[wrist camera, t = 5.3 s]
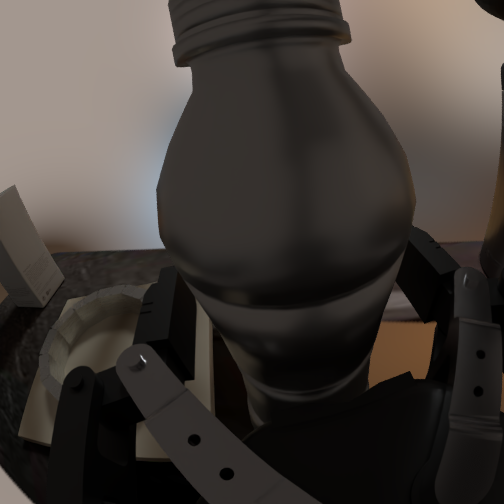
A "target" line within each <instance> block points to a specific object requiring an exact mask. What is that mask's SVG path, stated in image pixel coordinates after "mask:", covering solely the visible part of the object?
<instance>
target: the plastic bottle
mask: <svg viewBox="0 0 504 504" xmlns="http://www.w3.org/2000/svg"><path fill="white" fill-rule="evenodd" d="M168 7H169V11H170V17H171V21H172V27H173V32H174V36H175V42H176V44H175V45H174V46H173V48H172V51H173V57H174V62H175V66H176V67H191V70H192V85H193V92H192V94H191V96H190V98H189V100H188V102H187V105H186V107H185V109H184V111H183V113H182V116H181V118H180V120H179V122H178V125H177V127H176V129H175V132H174V134H173V136H172V139H171V141H170V143H169V146H168V149H167V153H166V156H165V160H164V164H163V167H162V170H161V174H160V178H159V181H158V185H157V189H156V192H157V211H158V225H159V226H158V227H159V234H160V238H161V240H162V242H163V244H164V246H165V248H166V250H167V252H168V254H169V256H170V258H171V260H172V262H173V264H174V266H175V268H176V269H177V271H178V272H179V273H180V275H181V276H182V278H183V280H184V281H185V283H186V284H187V286H188V287H189V289H190V290H191V292H192V293H193V295H194V296H195V298H196V299H197V301H198V302H199V304H200V305H201V307H202V308H203V310H204V311H205V313H206V314H207V315H208V317H209V318H210V320H211V321H212V323H213V324H214V326H215V327H216V328H217V330H218V331H219V333H220V334H221V336H222V338H223V340H224V342H225V343H226V345H227V347H228V349H229V351H230V353H231V355H232V356H233V358H234V360H235V361H236V363H237V365H238V367H239V369H240V371H241V373H242V375H243V379H244V383H245V386H246V390H247V394H248V408H249V413H250V418H251V422H252V425H253V427H254V429H256V428H258V427H259V426H261V425H263V424H265V423H267V422H269V421H271V420H272V419H271V413H270V412H271V411H277V410H282V409H287V408H291V407H296V406H300V405H305V404H323V403H344V402H348V401H350V400H352V399H354V398H356V397H357V396H359V395H361V394H362V393H364V392H365V391H367V390H369V382H368V374H369V365H370V356H371V353H372V350H373V345H374V342H375V340H376V337H377V333H378V330H379V326H380V323H381V319H382V316H383V312H384V309H385V307H386V304H387V302H388V299H389V296H390V294H391V291H392V288H393V286H394V283H395V280H396V277H397V274H398V271H399V268H400V265H401V262H402V259H403V256H404V253H405V250H406V246H407V243H408V240H409V237H410V233H411V228H412V222H413V216H414V211H415V205H416V197H415V190H414V185H413V181H412V176H411V172H410V168H409V164H408V160H407V156H406V154H405V152H404V150H403V148H402V146H401V145H400V143H399V141H398V139H397V138H396V136H395V134H394V132H393V131H392V129H391V127H390V126H389V124H388V122H387V121H386V119H385V118H384V116H383V115H382V113H381V112H380V111H379V109H378V108H377V107H376V106H375V105H374V103H373V102H372V101H371V99H370V98H369V97H368V96H367V95H366V93H365V92H364V91H363V90H362V89H361V88H360V86H359V85H358V84H357V83H356V82H355V81H354V80H353V78H352V77H351V76H350V75H349V74H348V73H347V72H346V71H345V69H344V65H343V62H342V59H341V56H340V53H339V46H340V45H344V44H348V43H350V42H351V34H350V28H349V25H348V23H347V22H346V21H344V20H343V17H342V12H341V7H340V2H339V0H169V3H168Z"/></svg>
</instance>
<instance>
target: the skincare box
mask: <svg viewBox="0 0 504 504" xmlns="http://www.w3.org/2000/svg"><path fill="white" fill-rule="evenodd" d="M63 280H64V276H63V274H62V273H61V271H60V270H59V268H58V267H57V265H56V263H55V262H54V260H53V258H52V257H51V255H50V253H49V252H48V250H47V248H46V246H45V245H44V243H43V241H42V239H41V238H40V236H39V234H38V232H37V230H36V228H35V226H34V225H33V223H32V221H31V219H30V217H29V215H28V213H27V210H26V208H25V206H24V204H23V202H22V200H21V198H20V196H19V193H18V191H17V189H16V187H15V185H14V186H11V187H10V188H8V189H7V190H5V191H3V192H2V193H0V282H1V284H2V285H3V287H4V288H5V290H6V291H7V292H8V294H9V295H10V297H11V298H12V299H13V301H14V302H15V304H16V305H17V306H18V307H39V308H43V307H45V305H46V304H47V303H48V301H49V300H50V299H51V297H52V296H53V294H54V293H55V292H56V290H57V289H58V287H59V286H60V284H61V283H62V282H63Z"/></svg>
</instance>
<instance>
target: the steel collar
mask: <svg viewBox="0 0 504 504" xmlns="http://www.w3.org/2000/svg"><path fill="white" fill-rule="evenodd" d="M146 291H147V289H143V288H139V287H135V286H132V285H127V286H126V285H120V286H115V287H110V288H105V289H100V290H99V293H98V291H96V292H94V293H92V294H90V295H89V296H87V297H85V298H84V299H82V300H80V301H78V302H77V303H75V304H73V308H72V307H70V308H69V309H68V310H67V311H66V312H65V313H64V314H63V315H62V316H61V317H60V318H59V319H58V321H57V322H56V323H55V324H54V325H53V326H52V329H51V330H49V333H48V335H47V337H46V339H45V342H44V344H43V347H42V349H41V351H40V355H41V356H39V367H40V379H41V382H42V384H43V386H44V387H45V388H46V389H47V390H48V391H49V392H50V393H51V394H52V395H53V396H54V397H55V398H56V399H57V400H58V401H59V397H60V393H61V389H62V385H63V381H64V379H65V377H66V376H65V370H64V369H65V366H66V363H67V360H68V357H69V354H70V352H71V349H72V347H73V346H74V344H75V343H76V342H77V341H78V340H79V339H80V337H81V336H82V335H83V334H84V333H85V332H86V331H87V329H88V328H90V327H92V326H94V325H95V324H97V323H99V322H100V321H102V320H104V319H106V318H107V317H109V316H114V315H121V314H127V313H135V314H138V315H140V309H141V306H142V301H143V297H144V294H145V292H146Z"/></svg>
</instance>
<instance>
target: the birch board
mask: <svg viewBox="0 0 504 504" xmlns="http://www.w3.org/2000/svg"><path fill="white" fill-rule="evenodd" d="M155 283H157V282H155ZM151 284H153V283H150V284H145V285H140V286H135V287H139V288H143V289H148V288H149V287H150V285H151ZM85 297H87V296H85ZM85 297H80V298H74V299H69V300H68V301H67V303H66V305H65V307H64V309H63V311H62V313H61V315H60V317H61V316H62V315H63V314H64V313H65V312H66V311H67V310H68V309H69V308H70V307H72V308H73V304H75V303H77V302H78V301H80V300H82V299H84V298H85ZM195 299H196V298H195ZM196 304H197V320H196V347H195V380H191V381H185V387H186V388H188V389H189V390H190V391H191V392H192V393H193V394H194V395H195V396H196V398H197V399H198V400H199V401H200V402H201V403H202V404H203V405H204V406H205V407H206V408H207V409H208V410H209V411H210V412H211V413H212V414H213V415H214V416H215V403H214V376H213V335H212V321H211V320H210V318H209V317H208V315H207V314H206V313H205V311H204V310H203V308H202V307H201V305H200V304H199V302H198V301H197V299H196ZM138 317H139V315H138V314H135V313H127V314H121V315H114V316H109V317H107V318H106V319H104V320H102V321H100V322H99V323H97V324H95V325H94V326H92V327H90V328H88V329H87V331H86V332H85V333H84V334H83V335H82V336H81V337H80V339H79V340H78V341H77V342H76V343H75V344H74V346H73V347H72V349H71V352H70V354H69V357H68V360H67V363H66V366H65V369H64V370H65V376H67V374H68V373H69V372H70V371H71V370H72V369H74V368H76V367H78V366H88V367H90V368H91V369H92V370H93V371H94V372H95V373H98V372H101V371H103V370H106V369H109V368H111V367H113V366H116V362H117V359H118V357H119V356H120V354H121V353H122V352H123V351H124V350H125V349H127V348H128V347H130V346H132V343H133V339H134V334H135V330H136V326H137V321H138ZM58 402H59V401H58V400H57V399H56V398H55V397H54V396H53V395H52V394H51V393H50V392H49V391H48V390H47V389H46V388H45V387H44V386H43V384H42V382H41V379H40V367H39V368H38V371H37V374H36V376H35V379H34V382H33V385H32V388H31V391H30V394H29V397H28V401H27V404H26V407H25V411H24V414H23V418H22V422H21V425H20V429H19V433H18V436H20V437H21V438H23V439H25V440H27V441H30V442H33V443H37V444H40V445H44V446H48V447H51V440H52V434H53V428H54V422H55V417H56V412H57V407H58ZM136 461H154V462H172V461H171V460H170V458H169V457H168V456H167V454H166V453H165V452H164V451H163V449H162V448H161V447H160V445H159V444H158V443H157V441H156V440H155V439H154V437H153V436H152V434H151V433H150V432H149V430H148V429H147V427H146V425H145V424H144V421H142V422H139V423H137V427H136Z"/></svg>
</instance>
